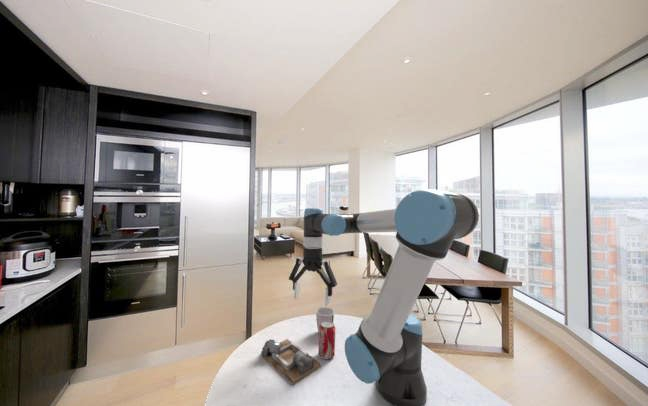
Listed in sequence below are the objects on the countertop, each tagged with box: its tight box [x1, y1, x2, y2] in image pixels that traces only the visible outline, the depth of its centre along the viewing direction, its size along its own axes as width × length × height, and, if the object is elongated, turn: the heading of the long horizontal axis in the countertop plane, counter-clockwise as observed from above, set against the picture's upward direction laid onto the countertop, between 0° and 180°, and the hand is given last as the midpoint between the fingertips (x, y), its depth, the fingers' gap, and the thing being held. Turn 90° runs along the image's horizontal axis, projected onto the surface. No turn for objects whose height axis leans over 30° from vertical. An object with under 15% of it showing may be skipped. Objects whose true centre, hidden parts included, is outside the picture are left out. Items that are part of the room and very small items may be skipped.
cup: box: [315, 306, 335, 333], centre depth 103 cm, size 8×8×10 cm
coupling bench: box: [260, 338, 322, 386], centre depth 84 cm, size 20×12×5 cm, turn 45°
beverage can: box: [318, 321, 336, 360], centre depth 88 cm, size 6×6×12 cm
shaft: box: [261, 339, 282, 358], centre depth 86 cm, size 6×6×4 cm
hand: (311, 301), depth 91 cm, fingers open, 13 cm apart
